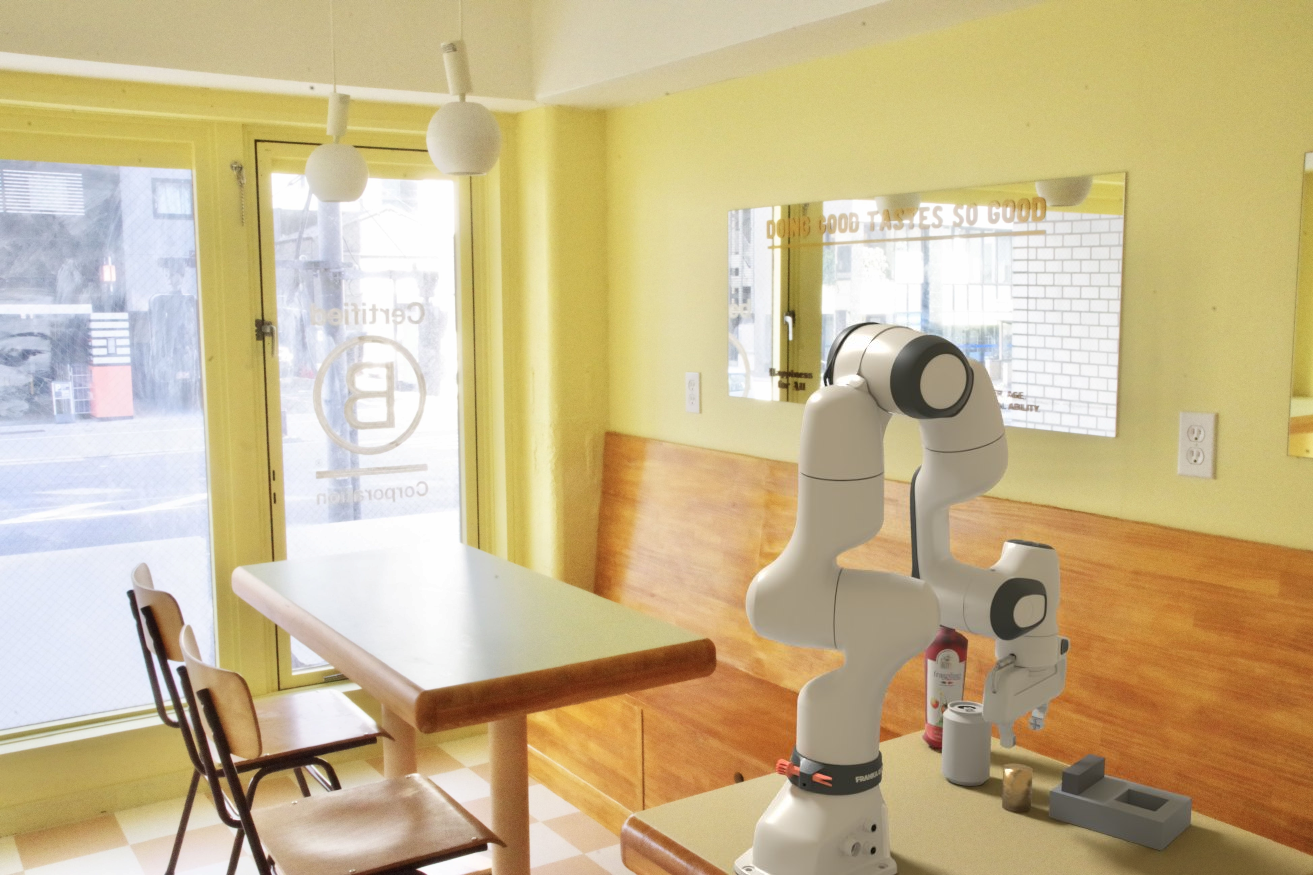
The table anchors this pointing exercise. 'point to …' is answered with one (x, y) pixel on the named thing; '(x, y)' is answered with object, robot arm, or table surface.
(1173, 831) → the frame
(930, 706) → the liquor
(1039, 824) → the table surface
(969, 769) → the can
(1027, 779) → the gold cylinder puck
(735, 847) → the table surface
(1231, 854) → the table surface
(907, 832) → the table surface
